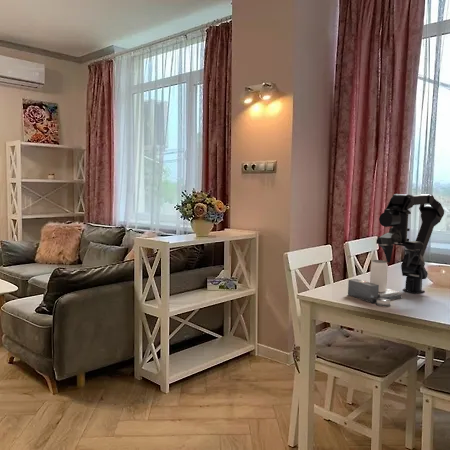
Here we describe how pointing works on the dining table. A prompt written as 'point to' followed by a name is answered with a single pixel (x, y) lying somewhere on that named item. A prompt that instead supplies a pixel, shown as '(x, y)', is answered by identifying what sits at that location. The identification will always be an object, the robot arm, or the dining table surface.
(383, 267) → the can
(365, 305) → the dining table surface
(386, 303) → the spacer
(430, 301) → the dining table surface
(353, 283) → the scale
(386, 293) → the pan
